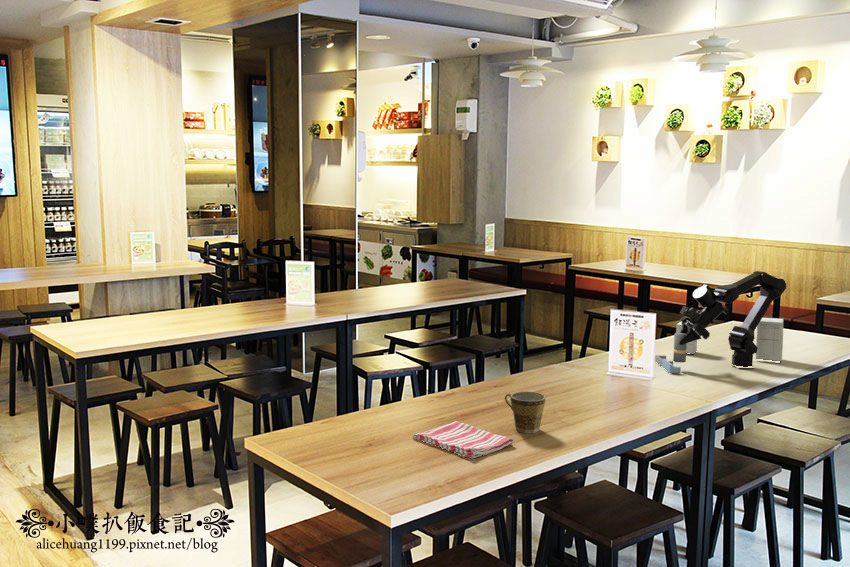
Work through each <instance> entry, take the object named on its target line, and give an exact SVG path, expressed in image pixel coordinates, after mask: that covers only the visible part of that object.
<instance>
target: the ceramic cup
mask: <svg viewBox="0 0 850 567" xmlns="http://www.w3.org/2000/svg"><path fill="white" fill-rule="evenodd" d="M507 397H510V402H509V401H508V399H507ZM504 401H505V403H506V404H507V405H508V406H509V407H510V409H511V410H512V412H513V419H514V426H515V429H517V430H516V431H517V432H518V431H519V432H520V433H522V434H535V432H536V433H538V432H540V427H541V422H542V418H543V412H544V409H545V404H546V396H545V395H544V394H543V393H541V392H535V391H518V392H514V393H507V394H505V397H504ZM510 403H511V404H510ZM537 431H538V432H537ZM519 432H518V433H519Z"/></svg>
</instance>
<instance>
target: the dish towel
mask: <svg viewBox="0 0 850 567" xmlns="http://www.w3.org/2000/svg"><path fill="white" fill-rule="evenodd" d="M412 438H413V439H414V438H415V439H414V440H416V439H417V440H416V441H419V440H420V441H419V442H422V441H423V442H422V443H424V442H426V443H425V444H427V443H429V444H428V445H430V444H432V445H431V446H433V445H436V446H438V447H442V448H443V449H446V450H449V451H451V452H450V453H452V452H454V453H453V454H455V453H456V454H458V455H457V456H459V455H461V456H463V457H462V458H465V457H466V458H465V459H467V458H468V459H467V460H472V459H473V460H474V459H475V458H478V457H483V456H486V455H490V454H491V453H492V454H493V453H494V452H497V451H500V450H501V449H503V448H506V447H508V445H509V446H512V445H513V443H514V441H515V440H514V438H512V437H508V436H505V435H499V434H495V433H492V432H490V431H486V430H483V429H480V428H476V427H475V426H472V425H470V424H466V423H464V422H459V420H455V421H453V422H451V423H449V424H447V423H446V424H444V425H441V426H439V427H434V428H433V429H429V430H427V431H424V432H418V433H414V434H413V435H412ZM436 446H435V447H436ZM438 447H437V448H438ZM443 449H442V450H443ZM446 450H445V451H446ZM449 451H448V452H449ZM456 454H455V455H456ZM482 455H483V456H482ZM461 456H460V457H461ZM470 458H471V459H470Z"/></svg>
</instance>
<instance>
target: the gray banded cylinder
mask: <svg viewBox="0 0 850 567" xmlns="http://www.w3.org/2000/svg"><path fill="white" fill-rule="evenodd" d="M685 335H686V334H685V333H676V332H675V333H674V335H673V336H674V337H673V360H672V361H673V363H674V362H675V363H681V364H682V363H686V362H687V354H686V352H687V350H686V345H687V343H686V344H683V345H680V344H679V342H680V341H681V340H682V338H683V337H684V336H685Z"/></svg>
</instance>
